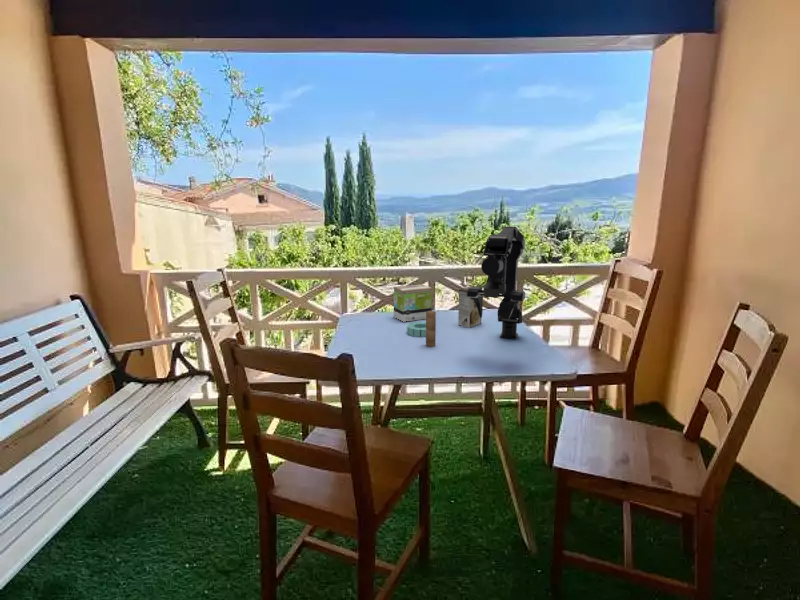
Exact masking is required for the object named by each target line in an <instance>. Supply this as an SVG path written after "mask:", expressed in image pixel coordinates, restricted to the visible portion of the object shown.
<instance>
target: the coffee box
mask: <svg viewBox="0 0 800 600" xmlns="http://www.w3.org/2000/svg"><path fill="white" fill-rule="evenodd" d="M471 287H473V286H467V287H463V288H459V289H458V313H457V314H458V316H457V317H458V318H457V320H458V321H457V323H458V324H457V325H458V326H459V325H461V326H460V327H463V326H465V327H464V328H467V327H471V328H474V327H476V326H478V325H477V324H479V325H481V324H482V318H483V317H482V318H480V316H479V312H478V309H477V306H476V303H475V302H474V300H473V299H470V298H471V297H468V296H467V290H468V289H469V288H471ZM481 296H483V295H481ZM480 323H481V324H480ZM475 325H476V326H475ZM473 326H474V327H473Z"/></svg>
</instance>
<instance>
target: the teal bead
mask: <svg viewBox="0 0 800 600" xmlns="http://www.w3.org/2000/svg"><path fill="white" fill-rule="evenodd" d="M406 334H407V335H408V334H409V336H412V337H416V338H417V337H418V338H426V321H424V322H423V321H418V322H412V323H411V322H410V323H408V324H407V326H406Z"/></svg>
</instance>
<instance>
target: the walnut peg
mask: <svg viewBox="0 0 800 600" xmlns="http://www.w3.org/2000/svg"><path fill="white" fill-rule="evenodd" d="M436 315H437V312H436V311H435V310H432V311H427V312H426V319H425V322H426V337H425V346H426V347H428V348H429V347H430V348H433V347H436V341H437V340H436V334H437V333H436V332H437V331H436V329H437V328H436V327H437V316H436Z"/></svg>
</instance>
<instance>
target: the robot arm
mask: <svg viewBox="0 0 800 600" xmlns="http://www.w3.org/2000/svg"><path fill="white" fill-rule="evenodd" d="M525 246H526V241H525V236H524V234H523V233H522V232H520V230H519V229H518V226H517V227H516V226H506V225H505V226H504V227H503V228H502V230H501V231H499V233H498V234H491V235H489V236H488V237H487V238H486V241H485V245H484V250H483V256H487V257H486V258H484V260H483V261H482V262H481V265H480V266H481V271H482V272H483V274H485V275H487V278H486V279H487V280H486V282H485V284H484V286H483V287H480V286H479V287H477V286H472V287H471V288H469V289H468V290H467V296H468V297H471V298H470V299H473V300H474V302H475V303H476V306H477V309H478V312H479V316H480V318H483V300H484V299H483V298H493V299H498V298H499V297H500V298H502V299H501V302H500V303H499V306H498V308H497V322H498V323H500V322H501V333H500V335H499V338H500V339H501V338H502V339H513V340H517V339H518V337H519V334H518V333H517V331H518V330H517V329H518V328H517V326H518V324H522V323H523V312H522V309H521V308H520V304H521V303H520V302H523V301H524V300H526V292H525V290H519V289H518V290H517V285H518V283H517V280H518V265H519V263H518V262H519V259H520V257H521V256H522V254H523V251H524V250H525ZM481 295H482V296H481Z"/></svg>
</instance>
